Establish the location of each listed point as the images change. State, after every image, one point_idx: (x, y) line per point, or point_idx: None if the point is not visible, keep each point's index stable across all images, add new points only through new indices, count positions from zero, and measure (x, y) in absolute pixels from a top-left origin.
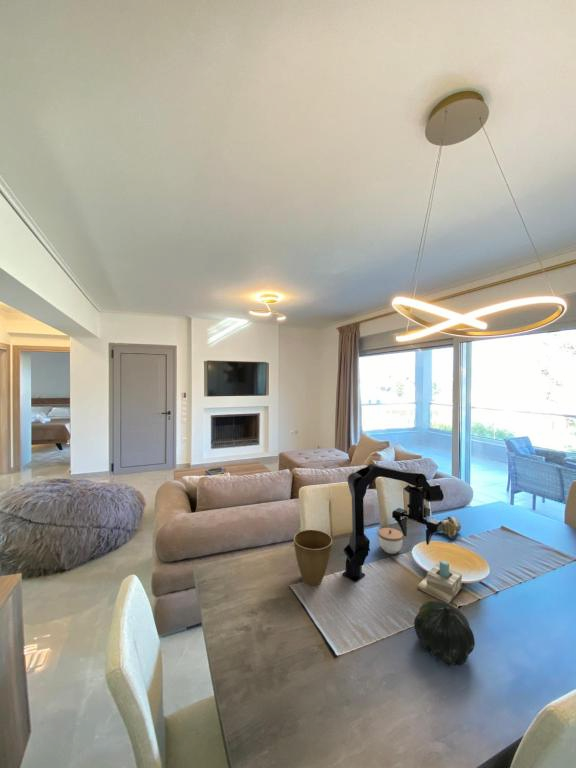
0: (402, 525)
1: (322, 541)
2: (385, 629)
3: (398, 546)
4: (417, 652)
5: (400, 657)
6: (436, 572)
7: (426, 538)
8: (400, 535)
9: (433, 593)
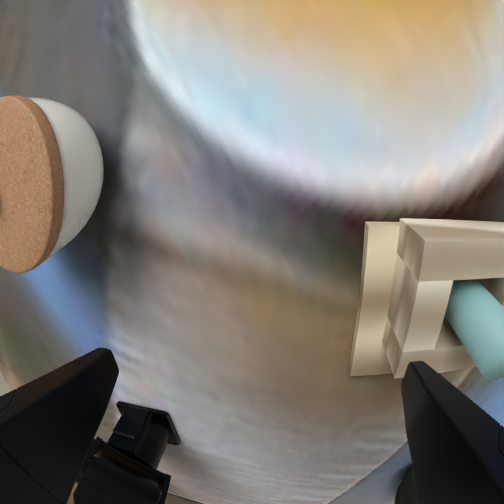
0: (61, 501)
1: (70, 496)
2: (333, 489)
3: (91, 190)
4: (399, 483)
5: (376, 497)
6: (438, 334)
7: (422, 484)
8: (33, 151)
9: None
